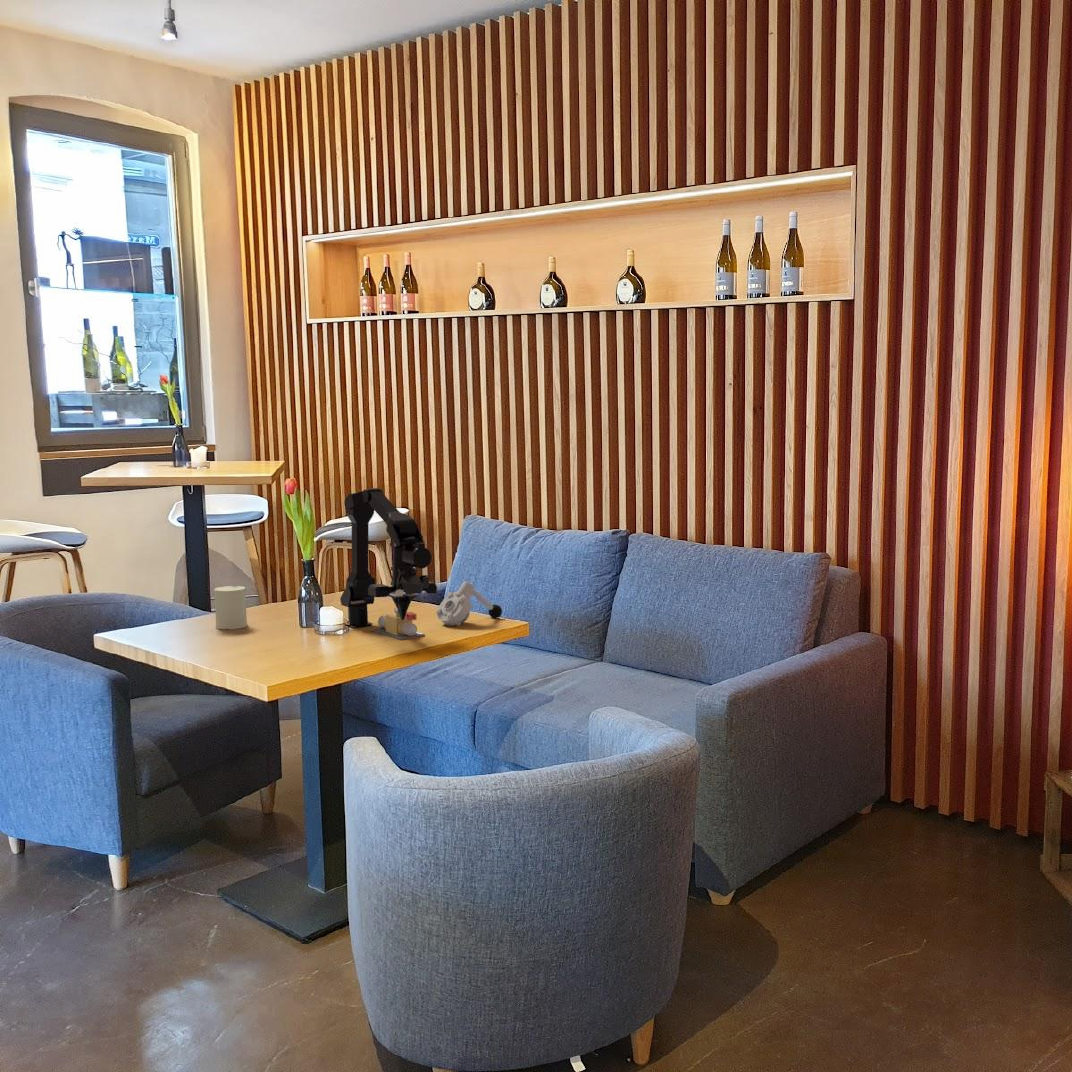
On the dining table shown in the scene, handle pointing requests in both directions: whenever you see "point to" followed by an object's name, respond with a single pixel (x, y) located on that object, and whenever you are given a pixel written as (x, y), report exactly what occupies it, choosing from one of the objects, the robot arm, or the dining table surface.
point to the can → (230, 607)
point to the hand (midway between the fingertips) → (402, 619)
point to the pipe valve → (397, 627)
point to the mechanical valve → (462, 606)
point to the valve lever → (408, 615)
